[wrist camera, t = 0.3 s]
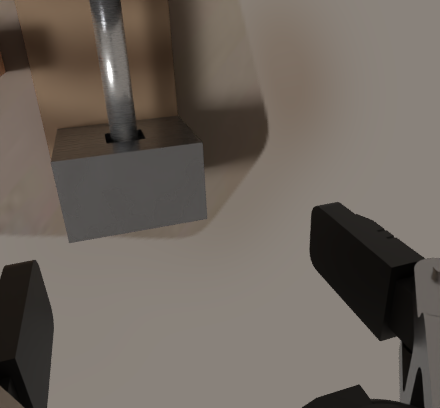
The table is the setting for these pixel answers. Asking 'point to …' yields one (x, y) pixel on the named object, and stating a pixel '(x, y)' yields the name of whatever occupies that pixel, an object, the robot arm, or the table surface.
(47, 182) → the table surface
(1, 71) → the spacer
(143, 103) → the baseboard
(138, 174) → the block
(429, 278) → the robot arm
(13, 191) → the table surface
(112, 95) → the shaft
